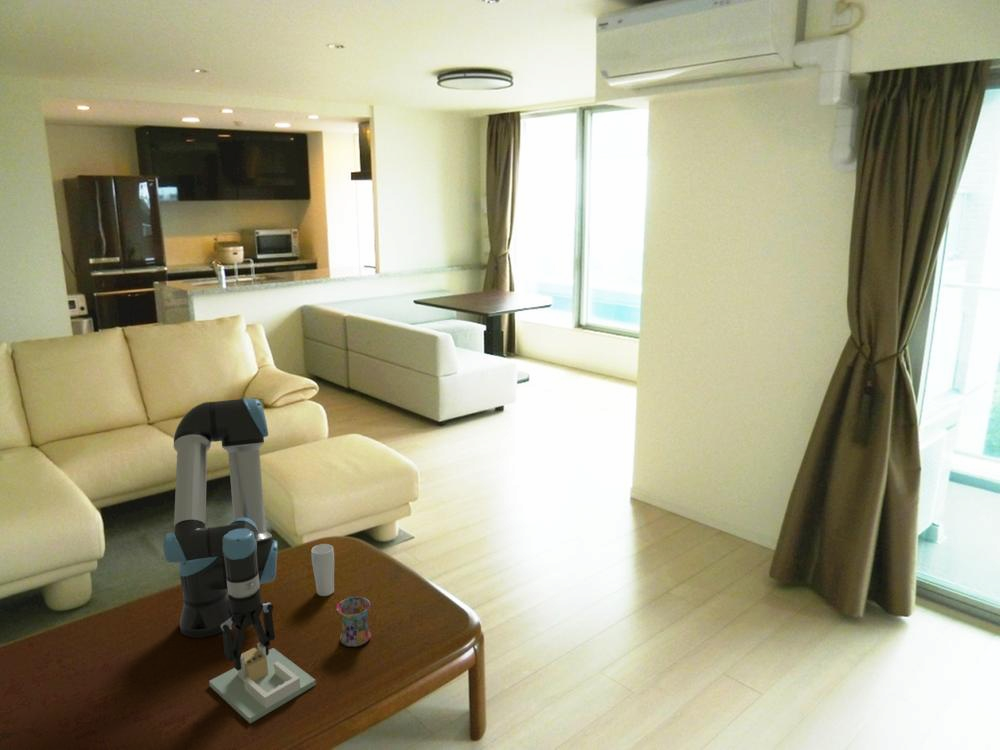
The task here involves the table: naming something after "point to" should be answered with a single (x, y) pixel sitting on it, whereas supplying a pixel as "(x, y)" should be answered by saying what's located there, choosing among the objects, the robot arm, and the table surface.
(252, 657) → the plug
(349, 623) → the mug
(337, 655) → the table surface
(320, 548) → the drinking glass
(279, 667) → the board
